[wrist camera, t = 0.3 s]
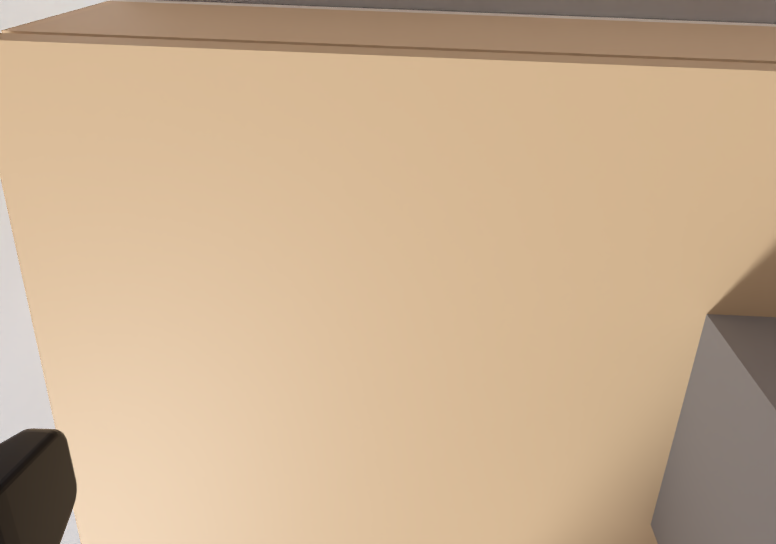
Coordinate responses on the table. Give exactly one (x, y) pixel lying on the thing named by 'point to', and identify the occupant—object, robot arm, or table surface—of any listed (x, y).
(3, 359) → the table surface
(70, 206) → the mailer lid
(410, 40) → the mailer box
